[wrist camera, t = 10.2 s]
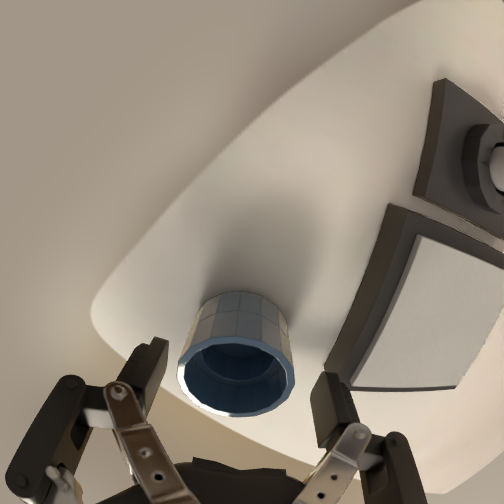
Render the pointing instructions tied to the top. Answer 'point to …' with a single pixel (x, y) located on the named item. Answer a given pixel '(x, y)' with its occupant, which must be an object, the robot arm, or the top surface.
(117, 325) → the top surface
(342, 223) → the top surface
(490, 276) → the scale
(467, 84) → the top surface
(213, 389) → the cup
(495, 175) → the button
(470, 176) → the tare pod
